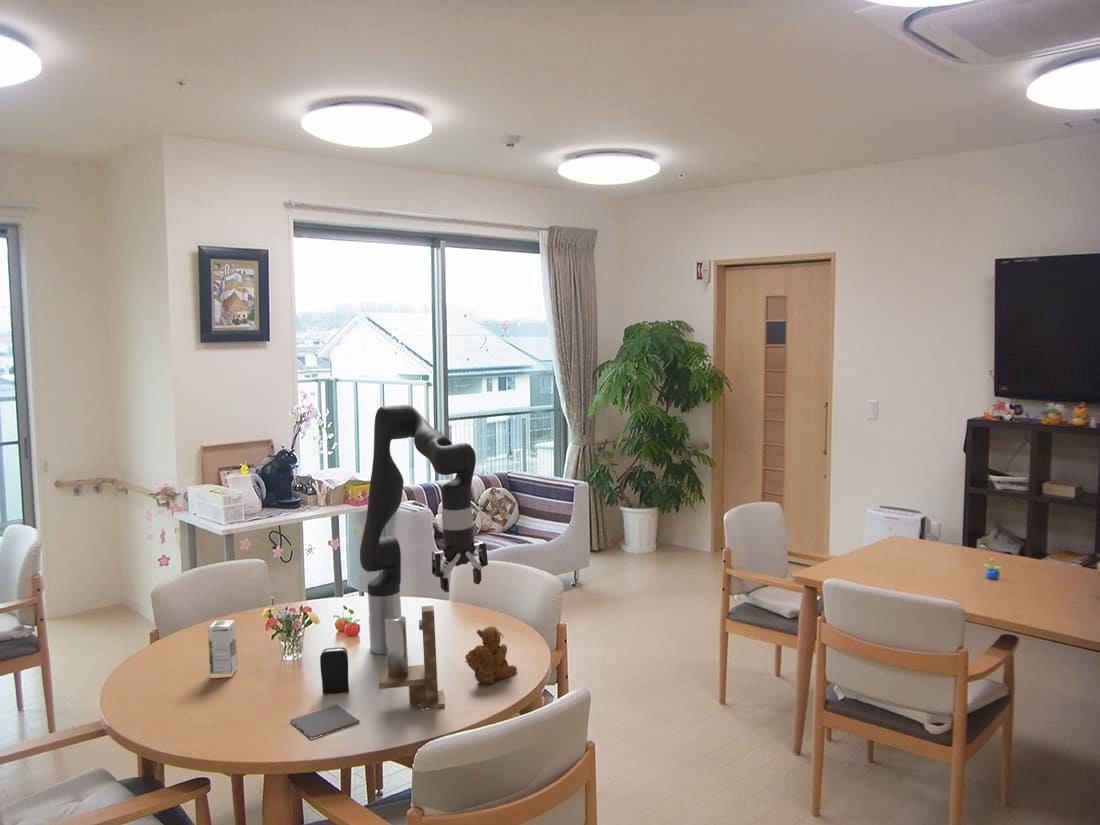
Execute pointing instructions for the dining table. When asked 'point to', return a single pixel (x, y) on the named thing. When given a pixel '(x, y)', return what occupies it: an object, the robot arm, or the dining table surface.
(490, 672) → the stuffed squirrel
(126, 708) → the dining table surface
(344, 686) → the battery charger
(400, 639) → the steel cylinder
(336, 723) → the felt pad
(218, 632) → the syrup box
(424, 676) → the walnut standard
